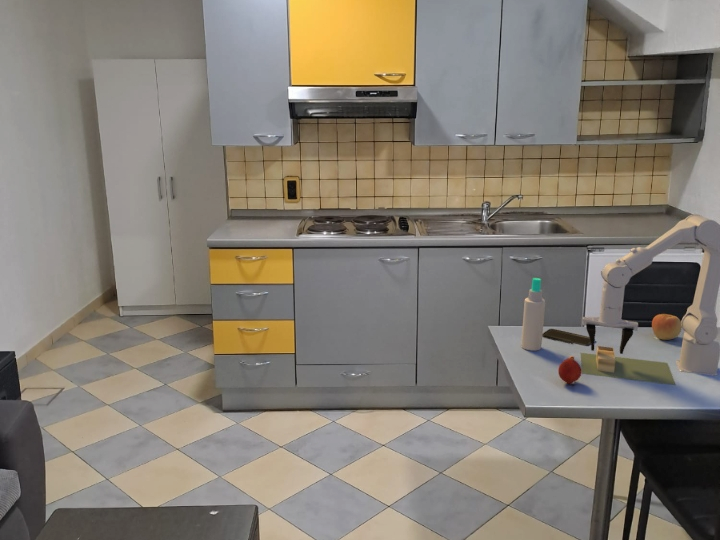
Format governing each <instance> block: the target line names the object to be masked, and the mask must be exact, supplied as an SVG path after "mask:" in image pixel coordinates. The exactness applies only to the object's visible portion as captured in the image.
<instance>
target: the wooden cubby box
mask: <svg viewBox="0 0 720 540" xmlns="http://www.w3.org/2000/svg"><path fill="white" fill-rule="evenodd" d="M614 349H615V348H614V347H608V346H600V345H597V349H596V362H597V371H605V372H613V373H614V368H615V357H616V355H615V350H614Z"/></svg>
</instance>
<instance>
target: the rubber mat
mask: <svg viewBox="0 0 720 540" xmlns="http://www.w3.org/2000/svg"><path fill="white" fill-rule="evenodd" d="M596 354H597V353H596ZM596 354H595V353H585V352H580V367H581V375H584V374H585V375H591V376H597V377H598V376H599V377H606V378H615V379H622V380H630V381H639V382H646V383H654V384H662V385H663V384H664V385H671V386H676V385H677V384H676V382H675V379H674V377H673V373H672V371H671V369H670V366H669V363H668V362H665V361H664V362H662V361H655V360H648V359H638V358H630V357H629V358H628V357H620V356H615V368H614V373H613V372H605V371H597V362H596Z"/></svg>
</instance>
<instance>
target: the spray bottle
mask: <svg viewBox="0 0 720 540" xmlns="http://www.w3.org/2000/svg"><path fill="white" fill-rule="evenodd" d="M531 282H532V283H531V288H530V289H529V291H528V297H526V298H525V299H524V302H523V303H524V306H523V316H522V317H523V319H522V331H521V339H520V340H521V343H520V346H521V348H522V349H524V350H527V351H531V352H533V351H534V352H535V351H539V350H541V349H542V342H543V337H542V334H543V333H544V332H543V331H544V321H545V320H544V319H545V309H546V300H545V299H544V298H543V290H542V289H541V286H542V285H541V284H542V279H541V278H538V277H532V281H531Z"/></svg>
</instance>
